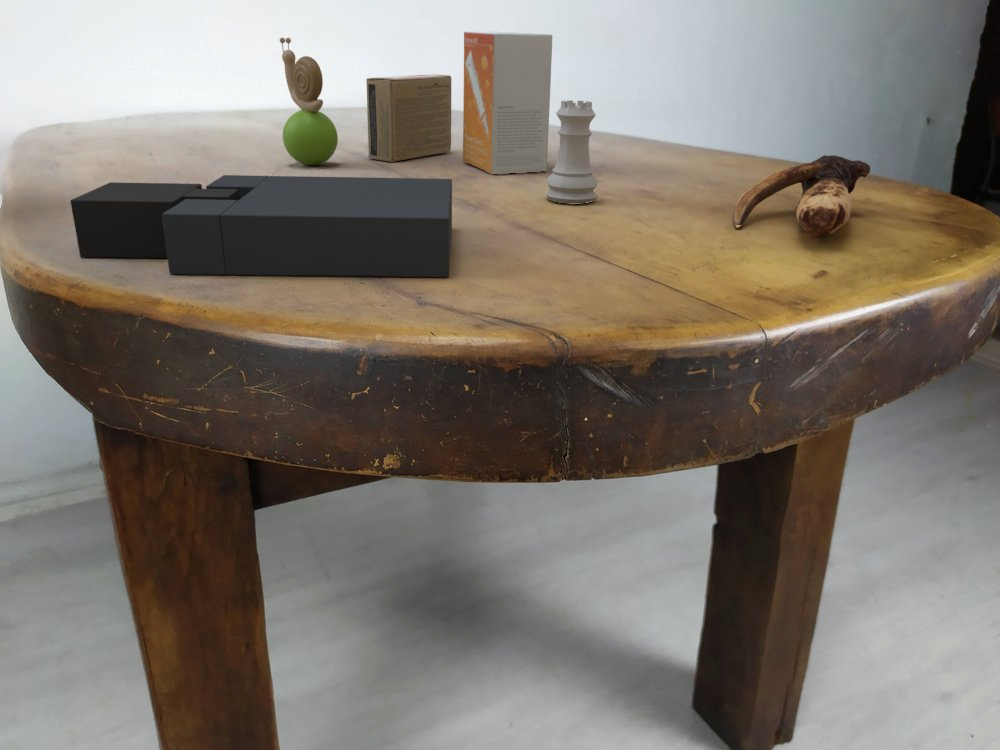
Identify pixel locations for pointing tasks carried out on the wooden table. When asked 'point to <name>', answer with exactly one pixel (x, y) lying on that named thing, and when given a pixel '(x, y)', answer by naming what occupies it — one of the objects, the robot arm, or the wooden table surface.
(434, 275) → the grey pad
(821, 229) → the lashed bone hook
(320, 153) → the snail figurine
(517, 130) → the small box
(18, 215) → the wooden table surface
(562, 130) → the rook chess piece
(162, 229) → the black stepped block
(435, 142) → the ink box
